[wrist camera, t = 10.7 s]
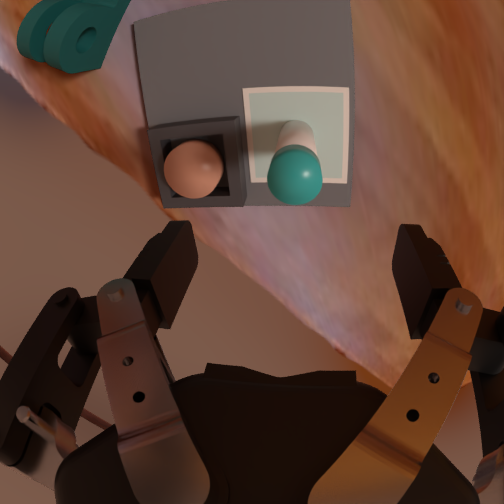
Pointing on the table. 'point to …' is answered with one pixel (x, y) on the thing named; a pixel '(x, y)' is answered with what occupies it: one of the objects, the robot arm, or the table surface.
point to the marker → (295, 165)
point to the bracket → (70, 32)
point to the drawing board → (250, 91)
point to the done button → (194, 168)
